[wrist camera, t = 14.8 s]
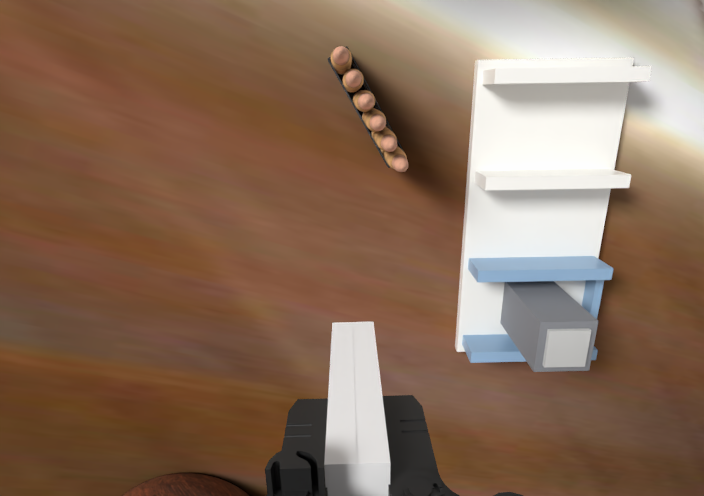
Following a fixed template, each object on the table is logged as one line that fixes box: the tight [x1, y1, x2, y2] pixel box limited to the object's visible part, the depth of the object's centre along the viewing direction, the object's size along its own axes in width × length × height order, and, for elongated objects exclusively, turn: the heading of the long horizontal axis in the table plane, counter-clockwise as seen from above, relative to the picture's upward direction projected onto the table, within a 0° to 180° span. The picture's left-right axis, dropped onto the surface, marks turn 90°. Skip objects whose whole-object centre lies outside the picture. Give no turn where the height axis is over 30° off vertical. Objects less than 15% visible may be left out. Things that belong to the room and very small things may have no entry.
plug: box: [500, 281, 598, 372], centre depth 43 cm, size 5×5×9 cm
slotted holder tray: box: [455, 58, 652, 363], centre depth 43 cm, size 30×14×4 cm, turn 1°
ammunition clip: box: [328, 46, 408, 172], centre depth 36 cm, size 11×2×12 cm, turn 31°
